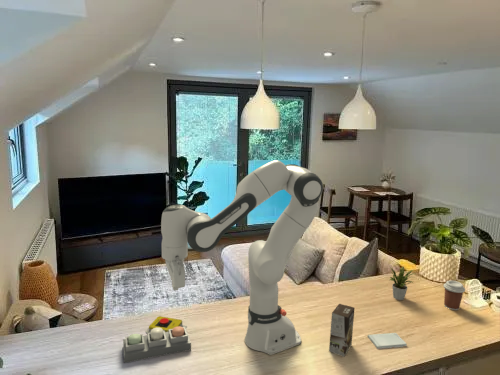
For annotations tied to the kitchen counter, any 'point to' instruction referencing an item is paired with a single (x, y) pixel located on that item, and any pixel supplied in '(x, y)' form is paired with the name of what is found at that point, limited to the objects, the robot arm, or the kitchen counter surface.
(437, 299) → the kitchen counter surface
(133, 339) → the pale green egg
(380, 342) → the hard drive
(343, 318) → the coffee box
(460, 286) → the coffee cup
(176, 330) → the brown egg
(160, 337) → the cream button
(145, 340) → the panel
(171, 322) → the emergency button
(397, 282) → the house plant
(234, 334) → the kitchen counter surface
